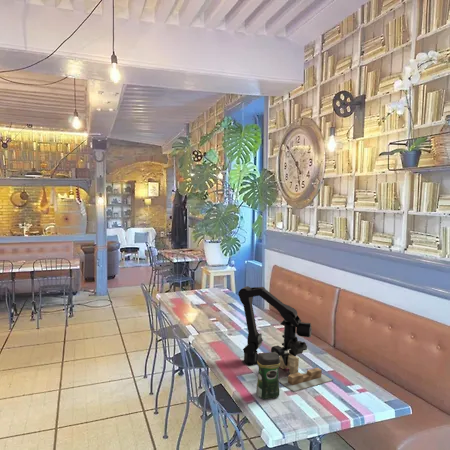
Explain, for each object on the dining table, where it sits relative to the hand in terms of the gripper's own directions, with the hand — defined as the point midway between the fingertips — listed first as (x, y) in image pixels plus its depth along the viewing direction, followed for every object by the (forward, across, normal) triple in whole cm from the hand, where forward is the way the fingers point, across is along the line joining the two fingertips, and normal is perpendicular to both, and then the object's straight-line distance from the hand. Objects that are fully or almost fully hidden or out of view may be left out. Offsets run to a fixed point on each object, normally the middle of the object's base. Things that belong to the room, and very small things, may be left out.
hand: (288, 365), depth 185 cm
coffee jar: (+3, -24, -15) cm, 28 cm away
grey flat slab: (+3, 0, -12) cm, 12 cm away
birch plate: (+3, 0, 0) cm, 3 cm away
